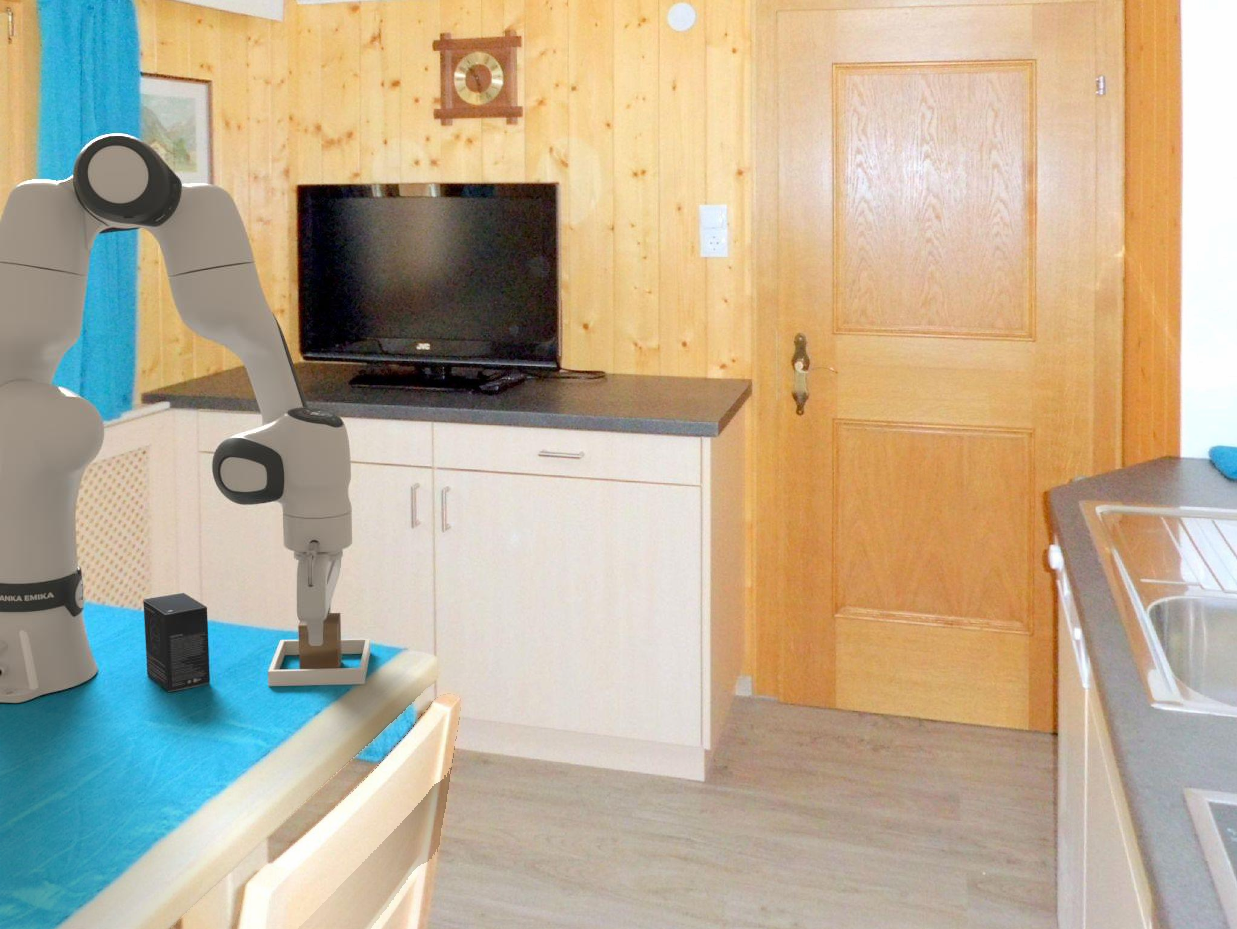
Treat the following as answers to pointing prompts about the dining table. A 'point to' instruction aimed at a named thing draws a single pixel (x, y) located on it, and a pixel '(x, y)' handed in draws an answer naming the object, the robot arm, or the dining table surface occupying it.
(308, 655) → the walnut block
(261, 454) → the robot arm
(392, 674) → the dining table surface
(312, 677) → the white square frame
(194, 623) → the box
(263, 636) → the dining table surface
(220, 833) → the dining table surface
